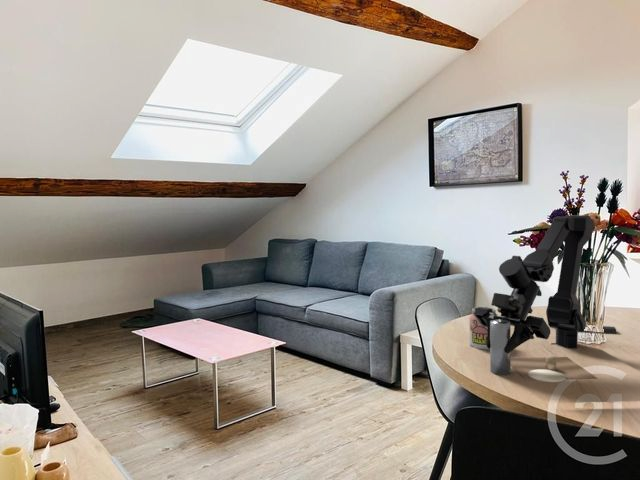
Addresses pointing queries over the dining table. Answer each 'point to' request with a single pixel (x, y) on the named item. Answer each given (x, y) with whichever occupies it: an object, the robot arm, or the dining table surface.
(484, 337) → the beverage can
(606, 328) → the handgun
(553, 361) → the dowel
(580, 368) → the plate
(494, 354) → the cylinder
